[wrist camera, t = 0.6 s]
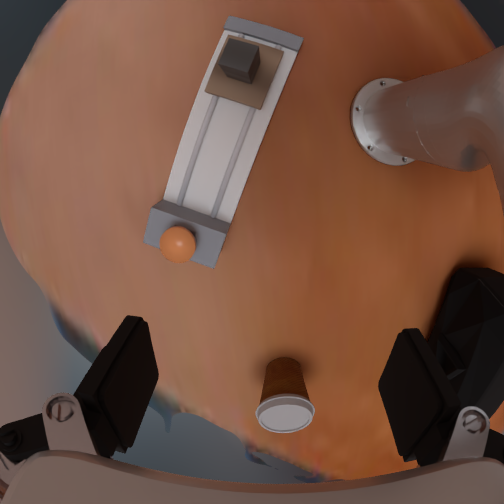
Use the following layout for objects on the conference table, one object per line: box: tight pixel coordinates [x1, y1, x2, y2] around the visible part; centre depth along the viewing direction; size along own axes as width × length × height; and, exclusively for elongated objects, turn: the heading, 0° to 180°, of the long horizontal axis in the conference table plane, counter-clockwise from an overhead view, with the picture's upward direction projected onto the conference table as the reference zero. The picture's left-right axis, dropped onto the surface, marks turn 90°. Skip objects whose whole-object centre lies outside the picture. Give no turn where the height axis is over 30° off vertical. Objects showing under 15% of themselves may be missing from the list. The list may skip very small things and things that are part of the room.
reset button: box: [159, 226, 196, 263], centre depth 35 cm, size 4×4×2 cm
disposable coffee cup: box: [256, 358, 315, 433], centre depth 46 cm, size 10×10×12 cm
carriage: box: [204, 35, 284, 110], centre depth 27 cm, size 8×7×9 cm
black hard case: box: [428, 268, 504, 419], centre depth 38 cm, size 30×12×20 cm, turn 0°
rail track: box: [143, 16, 304, 269], centre depth 34 cm, size 32×10×6 cm, turn 160°
